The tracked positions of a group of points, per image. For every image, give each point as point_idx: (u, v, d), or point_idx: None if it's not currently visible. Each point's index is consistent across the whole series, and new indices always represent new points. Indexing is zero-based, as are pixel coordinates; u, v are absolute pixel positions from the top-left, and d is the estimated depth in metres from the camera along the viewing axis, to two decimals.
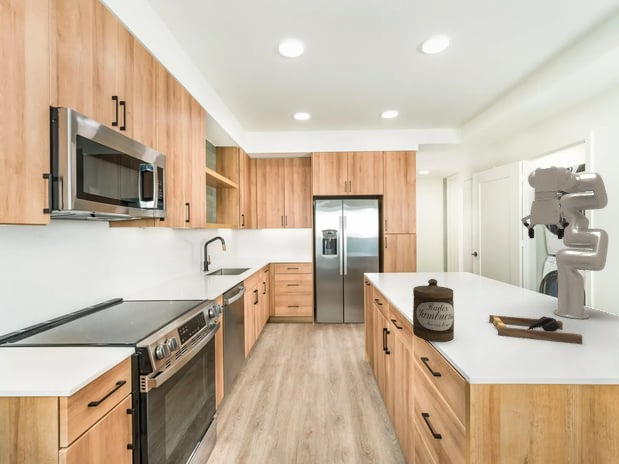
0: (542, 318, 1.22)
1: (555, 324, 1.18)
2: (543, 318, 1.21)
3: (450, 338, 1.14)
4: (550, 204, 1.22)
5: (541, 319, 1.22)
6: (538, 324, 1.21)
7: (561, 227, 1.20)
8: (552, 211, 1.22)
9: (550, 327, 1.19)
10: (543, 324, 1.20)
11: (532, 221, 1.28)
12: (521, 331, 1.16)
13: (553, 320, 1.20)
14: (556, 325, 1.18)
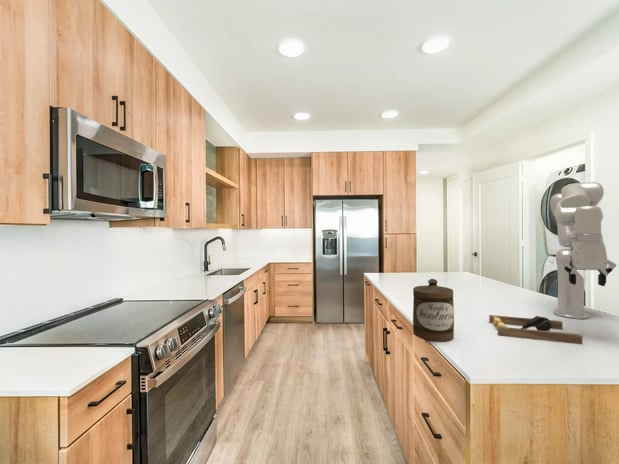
0: (535, 318, 1.22)
1: (548, 324, 1.19)
2: (536, 318, 1.22)
3: (450, 338, 1.14)
4: None
5: (534, 318, 1.22)
6: (531, 324, 1.21)
7: None
8: None
9: (544, 326, 1.19)
10: (536, 324, 1.21)
11: None
12: (521, 331, 1.16)
13: (546, 320, 1.20)
14: (549, 325, 1.19)
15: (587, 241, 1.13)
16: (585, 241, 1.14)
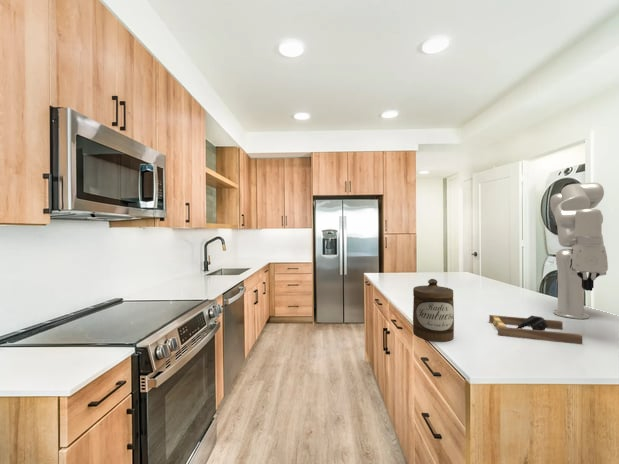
0: (531, 317, 1.22)
1: (543, 323, 1.19)
2: (532, 317, 1.22)
3: (450, 338, 1.14)
4: None
5: (530, 318, 1.22)
6: (527, 323, 1.22)
7: None
8: None
9: (539, 326, 1.20)
10: (532, 323, 1.21)
11: None
12: (521, 331, 1.16)
13: (541, 319, 1.20)
14: (544, 324, 1.19)
15: (587, 244, 1.13)
16: (585, 244, 1.14)
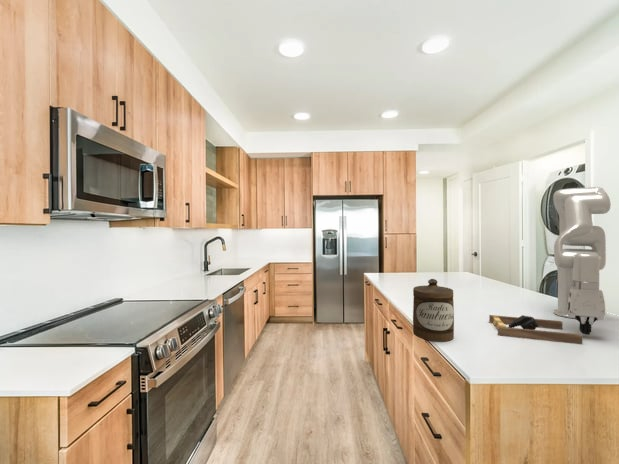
0: (521, 317, 1.23)
1: (534, 323, 1.20)
2: (522, 317, 1.23)
3: (450, 338, 1.14)
4: None
5: (520, 318, 1.23)
6: (517, 323, 1.22)
7: None
8: None
9: (529, 325, 1.20)
10: (522, 323, 1.22)
11: None
12: (521, 331, 1.16)
13: (532, 319, 1.21)
14: (534, 324, 1.20)
15: (585, 289, 1.14)
16: (583, 289, 1.14)
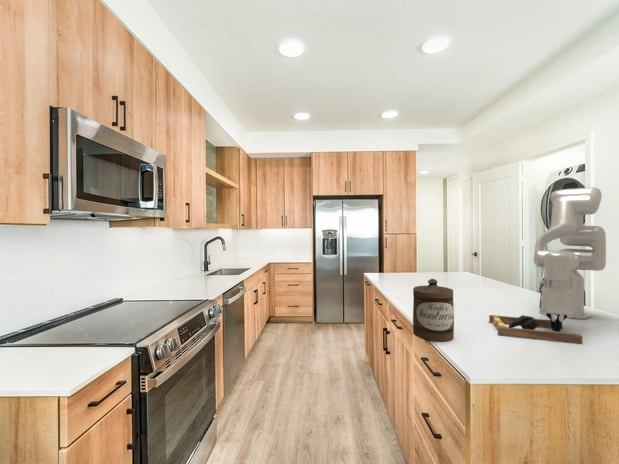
0: (521, 317, 1.23)
1: (534, 323, 1.20)
2: (522, 317, 1.23)
3: (450, 338, 1.14)
4: None
5: (520, 317, 1.23)
6: (517, 323, 1.22)
7: None
8: None
9: (529, 325, 1.20)
10: (522, 323, 1.22)
11: None
12: (521, 331, 1.16)
13: (532, 319, 1.21)
14: (534, 324, 1.20)
15: (555, 287, 1.17)
16: (553, 287, 1.17)
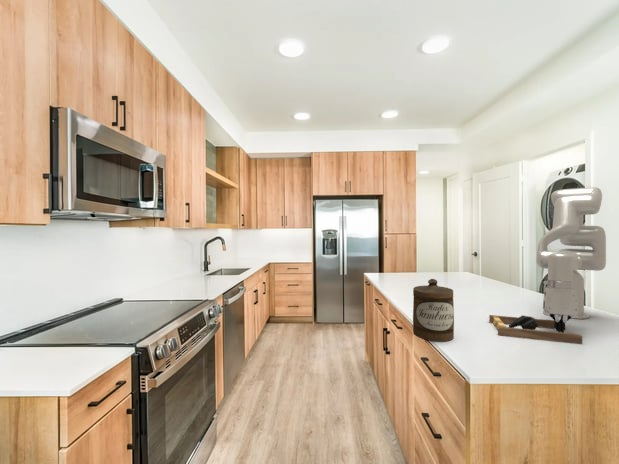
0: (521, 317, 1.23)
1: (534, 323, 1.20)
2: (522, 317, 1.22)
3: (450, 338, 1.14)
4: None
5: (520, 318, 1.23)
6: (517, 323, 1.22)
7: None
8: None
9: (529, 325, 1.20)
10: (522, 323, 1.22)
11: None
12: (521, 331, 1.16)
13: (532, 319, 1.21)
14: (535, 324, 1.20)
15: (559, 288, 1.17)
16: (557, 288, 1.17)
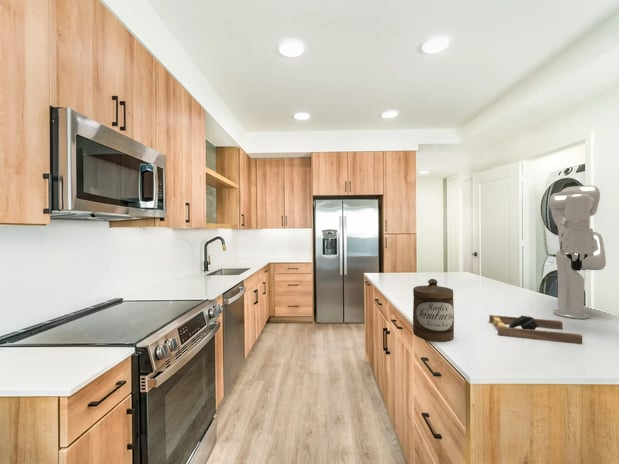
0: (521, 317, 1.23)
1: (534, 323, 1.20)
2: (522, 317, 1.22)
3: (450, 338, 1.14)
4: None
5: (520, 318, 1.23)
6: (518, 323, 1.22)
7: None
8: None
9: (529, 326, 1.20)
10: (522, 323, 1.22)
11: None
12: (521, 331, 1.16)
13: (532, 319, 1.21)
14: (535, 324, 1.20)
15: (576, 227, 1.20)
16: (574, 227, 1.21)
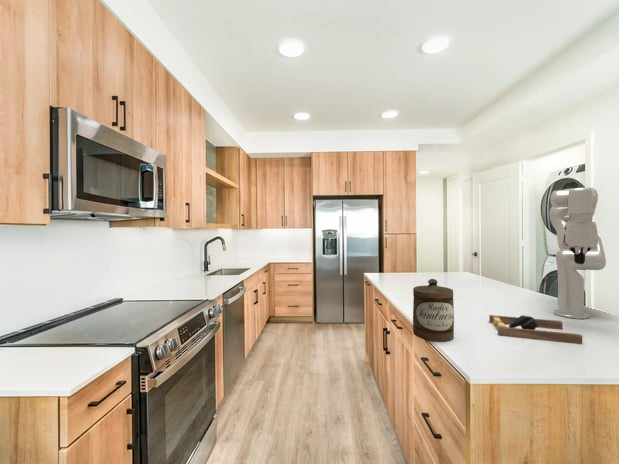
0: (521, 317, 1.23)
1: (534, 323, 1.20)
2: (522, 317, 1.22)
3: (450, 338, 1.14)
4: None
5: (520, 318, 1.23)
6: (518, 323, 1.22)
7: None
8: None
9: (529, 325, 1.20)
10: (522, 323, 1.22)
11: None
12: (521, 331, 1.16)
13: (531, 319, 1.21)
14: (535, 324, 1.20)
15: (579, 220, 1.21)
16: (577, 220, 1.22)
